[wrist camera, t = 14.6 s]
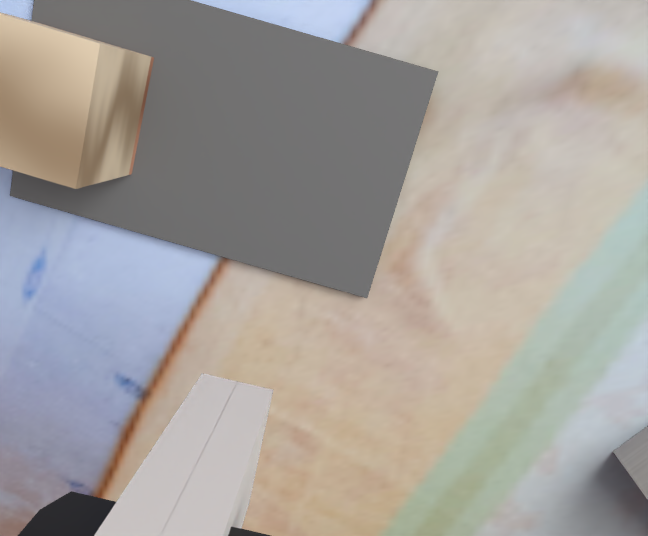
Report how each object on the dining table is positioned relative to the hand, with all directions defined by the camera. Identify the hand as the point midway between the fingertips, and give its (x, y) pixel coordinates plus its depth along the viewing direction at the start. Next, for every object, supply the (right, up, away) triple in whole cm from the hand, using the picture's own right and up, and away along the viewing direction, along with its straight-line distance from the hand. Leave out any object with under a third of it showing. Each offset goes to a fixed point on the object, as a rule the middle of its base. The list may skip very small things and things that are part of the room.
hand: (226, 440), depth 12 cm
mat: (-4, +10, +18) cm, 21 cm away
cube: (-11, +11, +12) cm, 19 cm away
